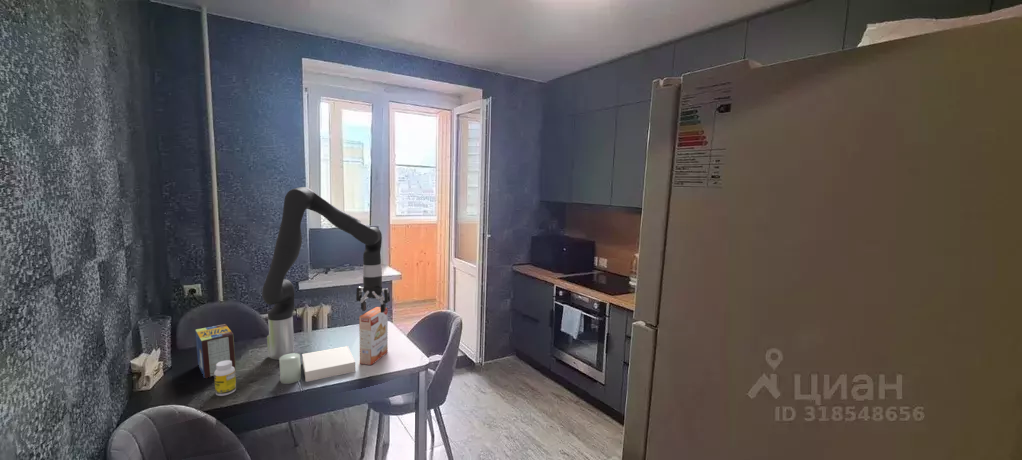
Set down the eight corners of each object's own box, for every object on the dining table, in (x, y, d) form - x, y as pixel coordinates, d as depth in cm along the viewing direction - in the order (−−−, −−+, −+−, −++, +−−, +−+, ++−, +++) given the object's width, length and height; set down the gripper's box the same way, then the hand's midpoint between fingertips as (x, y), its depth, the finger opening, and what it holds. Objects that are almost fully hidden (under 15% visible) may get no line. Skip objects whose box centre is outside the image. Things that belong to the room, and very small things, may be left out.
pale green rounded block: (276, 382, 154) (274, 360, 153) (289, 374, 161) (287, 352, 160) (292, 384, 153) (291, 361, 152) (305, 375, 160) (304, 354, 159)
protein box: (228, 358, 174) (225, 323, 172) (236, 370, 163) (233, 333, 161) (197, 365, 167) (194, 329, 165) (203, 379, 156) (200, 340, 154)
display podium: (305, 381, 155) (305, 371, 155) (302, 363, 171) (302, 354, 170) (355, 371, 164) (355, 362, 164) (348, 354, 180) (347, 345, 179)
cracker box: (372, 365, 170) (371, 317, 167) (359, 364, 171) (357, 316, 168) (388, 352, 183) (388, 307, 181) (376, 350, 184) (375, 306, 182)
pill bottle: (211, 394, 145) (209, 364, 144) (228, 386, 151) (226, 357, 150) (223, 398, 143) (221, 368, 142) (240, 389, 149) (238, 360, 147)
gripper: (352, 275, 170) (353, 313, 172) (384, 277, 168) (384, 315, 169) (361, 271, 177) (362, 307, 179) (392, 273, 175) (393, 309, 177)
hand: (373, 311), depth 174 cm, fingers open, 8 cm apart
